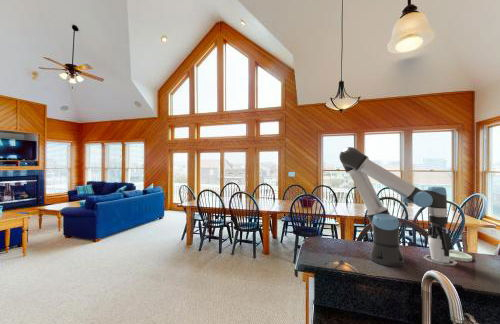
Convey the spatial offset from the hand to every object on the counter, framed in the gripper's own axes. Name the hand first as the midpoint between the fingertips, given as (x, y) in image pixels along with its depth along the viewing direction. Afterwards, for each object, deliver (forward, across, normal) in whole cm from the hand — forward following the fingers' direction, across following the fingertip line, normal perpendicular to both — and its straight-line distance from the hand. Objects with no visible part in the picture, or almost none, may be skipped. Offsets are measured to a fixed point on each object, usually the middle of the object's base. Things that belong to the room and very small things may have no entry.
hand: (439, 258), depth 115 cm
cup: (+1, 0, 0) cm, 1 cm away
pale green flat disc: (+1, +8, -12) cm, 15 cm away
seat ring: (+1, 0, 0) cm, 1 cm away
